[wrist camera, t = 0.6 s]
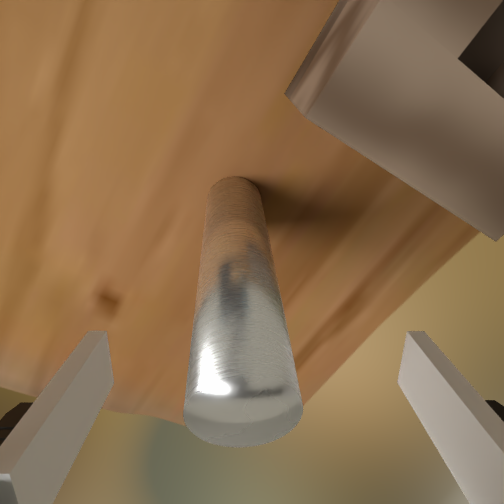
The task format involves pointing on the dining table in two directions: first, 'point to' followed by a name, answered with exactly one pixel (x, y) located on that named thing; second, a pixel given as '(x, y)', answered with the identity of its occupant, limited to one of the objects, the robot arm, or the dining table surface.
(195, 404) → the steel pin
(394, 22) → the socket block
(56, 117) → the dining table surface
